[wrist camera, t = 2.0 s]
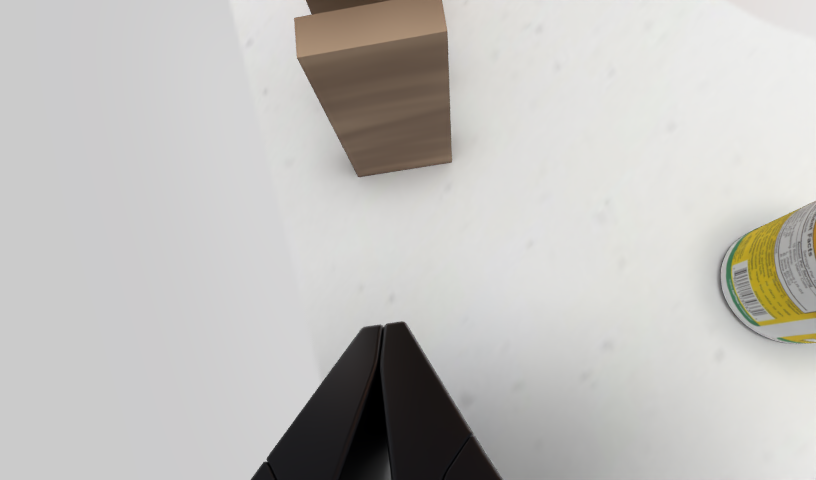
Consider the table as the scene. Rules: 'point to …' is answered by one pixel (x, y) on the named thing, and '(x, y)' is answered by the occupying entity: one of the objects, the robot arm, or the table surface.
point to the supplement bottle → (775, 277)
